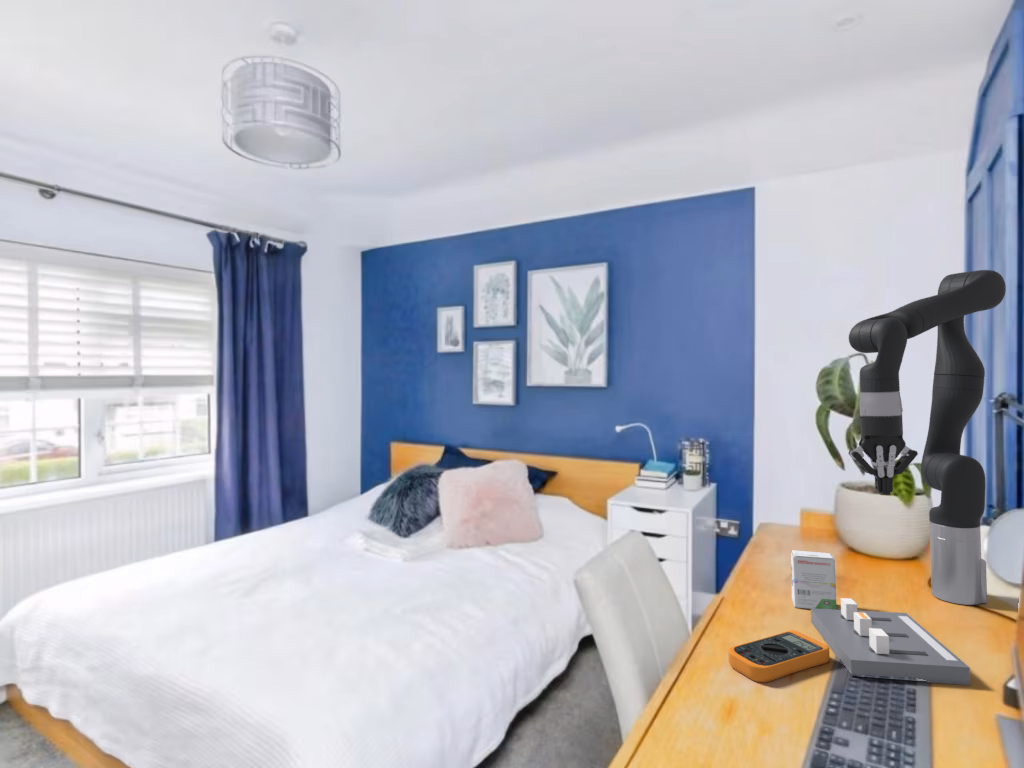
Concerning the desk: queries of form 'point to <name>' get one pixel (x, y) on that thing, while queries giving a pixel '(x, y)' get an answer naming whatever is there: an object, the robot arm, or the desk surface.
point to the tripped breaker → (862, 623)
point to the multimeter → (777, 656)
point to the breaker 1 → (848, 608)
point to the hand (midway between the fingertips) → (884, 494)
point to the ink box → (813, 580)
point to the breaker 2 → (879, 641)
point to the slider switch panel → (890, 648)
